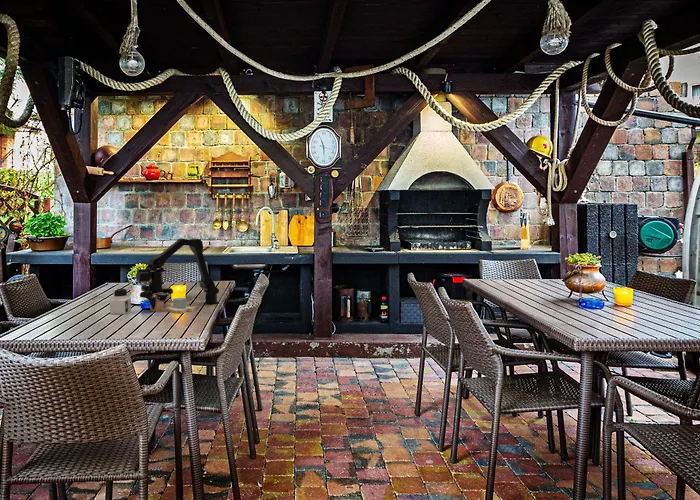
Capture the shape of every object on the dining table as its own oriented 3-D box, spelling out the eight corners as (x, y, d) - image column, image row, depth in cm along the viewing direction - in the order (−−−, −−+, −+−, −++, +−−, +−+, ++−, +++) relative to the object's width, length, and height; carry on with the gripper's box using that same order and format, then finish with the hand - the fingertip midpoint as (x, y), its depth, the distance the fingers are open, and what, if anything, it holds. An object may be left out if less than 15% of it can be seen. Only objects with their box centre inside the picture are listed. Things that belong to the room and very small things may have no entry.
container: (131, 311, 296) (130, 288, 295) (123, 314, 288) (123, 290, 287) (117, 311, 297) (116, 287, 296) (110, 314, 289) (109, 289, 288)
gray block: (180, 306, 304) (179, 297, 304) (186, 307, 302) (186, 298, 301) (173, 307, 300) (173, 298, 299) (179, 308, 297) (179, 299, 297)
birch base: (180, 307, 310) (180, 304, 310) (198, 309, 304) (198, 306, 303) (161, 311, 298) (160, 308, 298) (179, 313, 291) (179, 310, 291)
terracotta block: (157, 309, 304) (157, 300, 304) (163, 309, 302) (163, 300, 301) (150, 310, 300) (150, 301, 299) (156, 311, 297) (156, 302, 297)
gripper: (159, 277, 311) (159, 304, 312) (132, 281, 295) (133, 309, 296) (173, 278, 306) (174, 306, 307) (146, 282, 290) (147, 311, 291)
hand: (157, 308), depth 300 cm, fingers closed on terracotta block, 5 cm apart
